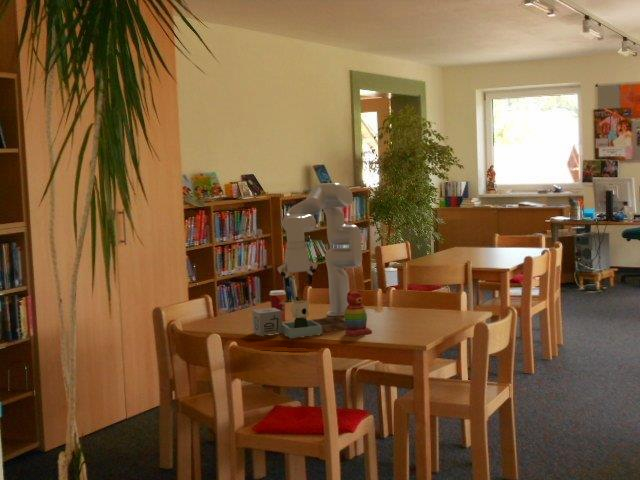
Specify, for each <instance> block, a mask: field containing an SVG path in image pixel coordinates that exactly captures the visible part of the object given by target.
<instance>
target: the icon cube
mask: <svg viewBox="0 0 640 480" xmlns="http://www.w3.org/2000/svg"><path fill="white" fill-rule="evenodd" d="M251 311H252V312H251V313H252V326H253V329H252V330H253V333H254V332H255V333H257V334H259V335H260V336H259V335H258V336H259V337H261V336H262V337H264V336H263V335H268V334H275V333H283V327H282V323H283V322H282V311H281V310H278V309H276V308H271V307H269V308H267V307H266V308H261V309H259V308H258V309H253V310H251ZM255 333H254V334H255ZM257 334H256V335H257Z"/></svg>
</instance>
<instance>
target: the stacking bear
mask: <svg viewBox="0 0 640 480" xmlns="http://www.w3.org/2000/svg"><path fill="white" fill-rule="evenodd" d="M363 301H364V296H363V294H362V292H361V290H353V291H349V292H348V293H347V302H348V304H349V305H348V306H347V308H346V310H345V316H344V320H345V323H346V327H347V329H345V335H346V334H347V335H346V336H348V335H349V337H355V336H354V335H357V336H359V334H361V335H370V333H371V334H372V333H373V330H372V329H371V328H369V327H367V323H368V316H367V312H366V308H365V306H364V304H363Z"/></svg>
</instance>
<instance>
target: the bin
mask: <svg viewBox="0 0 640 480" xmlns="http://www.w3.org/2000/svg"><path fill="white" fill-rule="evenodd" d="M294 322H295V321H289V322H287V321H286V322H282V327H283V333H284V334H286V335H287V336H288V337H289V339H298V338H297V337H301V338H303V337H302V336H309V337H311V336H310V335H318V334H322V335H323V332H322V325H323V324H321V325H320V324H318V323H316V322H314V321H313V319H307V324H308V327H302V328H294ZM284 334H283V335H284ZM286 335H285V336H286ZM287 336H286V337H287ZM318 336H319V335H318Z"/></svg>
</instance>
